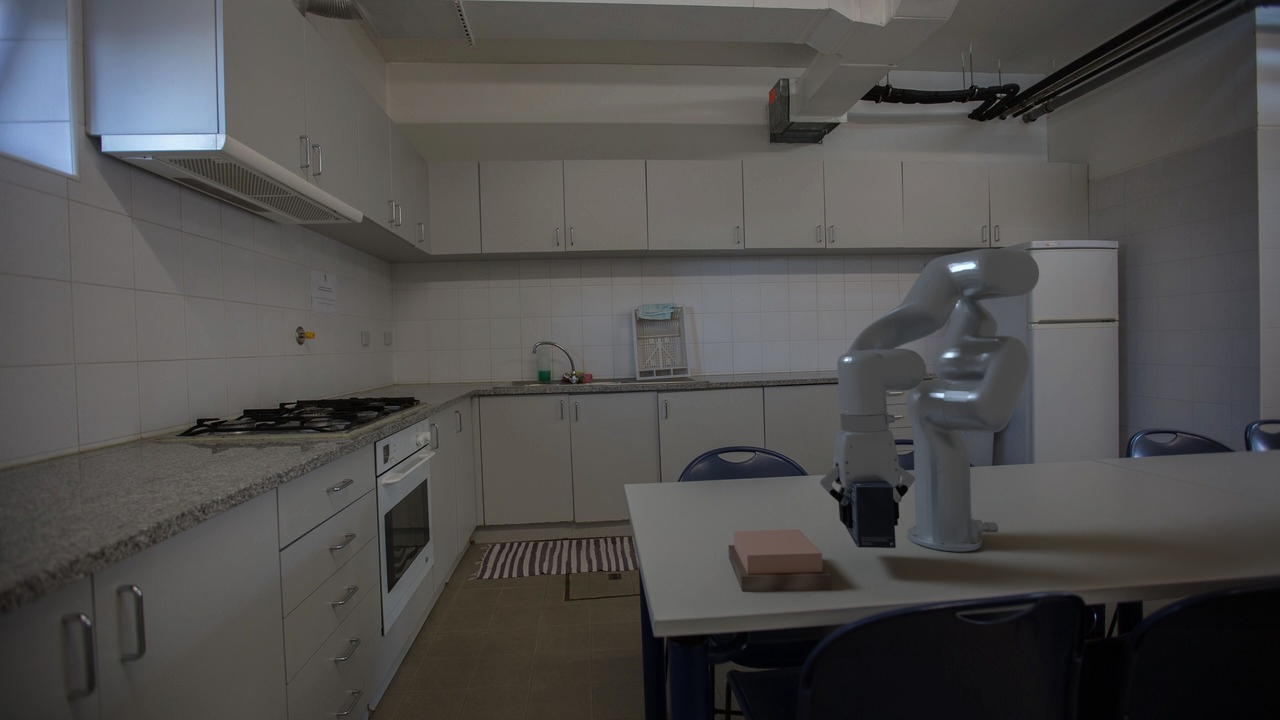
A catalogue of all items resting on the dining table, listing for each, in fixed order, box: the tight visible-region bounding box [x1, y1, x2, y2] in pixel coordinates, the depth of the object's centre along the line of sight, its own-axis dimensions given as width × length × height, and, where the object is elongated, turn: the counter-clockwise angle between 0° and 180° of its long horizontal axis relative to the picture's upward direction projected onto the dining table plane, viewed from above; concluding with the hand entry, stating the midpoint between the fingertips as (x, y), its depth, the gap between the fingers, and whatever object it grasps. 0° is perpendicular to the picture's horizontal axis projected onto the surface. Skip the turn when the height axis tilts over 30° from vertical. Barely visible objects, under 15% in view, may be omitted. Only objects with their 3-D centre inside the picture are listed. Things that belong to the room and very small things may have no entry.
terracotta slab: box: [733, 528, 823, 574], centre depth 89 cm, size 12×12×3 cm
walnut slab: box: [727, 544, 831, 592], centre depth 90 cm, size 14×14×3 cm
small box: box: [845, 481, 897, 549], centre depth 91 cm, size 11×6×10 cm, turn 169°
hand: (869, 523), depth 91 cm, fingers closed on small box, 7 cm apart
